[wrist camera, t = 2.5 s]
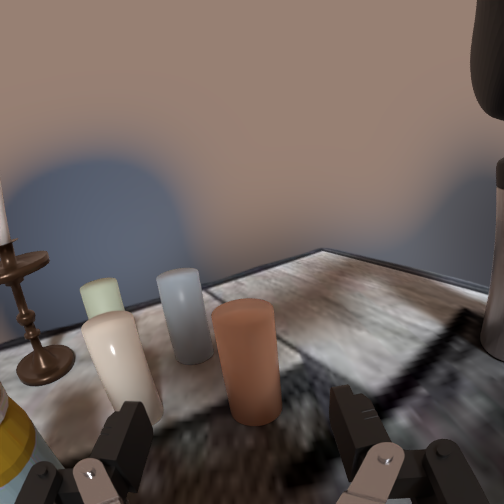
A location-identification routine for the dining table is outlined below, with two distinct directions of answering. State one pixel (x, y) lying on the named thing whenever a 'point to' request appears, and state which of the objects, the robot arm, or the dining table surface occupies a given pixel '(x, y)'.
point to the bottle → (18, 448)
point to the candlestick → (30, 312)
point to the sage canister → (101, 297)
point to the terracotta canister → (249, 359)
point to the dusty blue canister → (185, 315)
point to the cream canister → (121, 361)
